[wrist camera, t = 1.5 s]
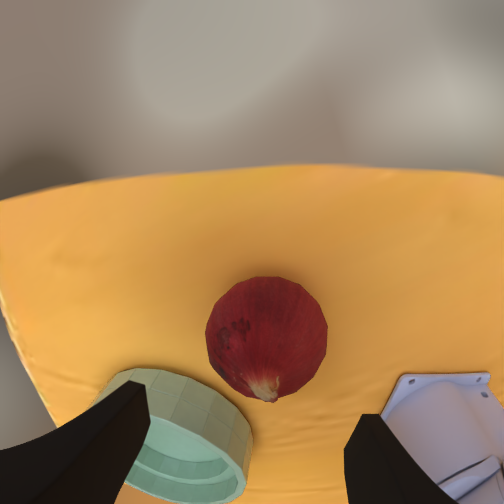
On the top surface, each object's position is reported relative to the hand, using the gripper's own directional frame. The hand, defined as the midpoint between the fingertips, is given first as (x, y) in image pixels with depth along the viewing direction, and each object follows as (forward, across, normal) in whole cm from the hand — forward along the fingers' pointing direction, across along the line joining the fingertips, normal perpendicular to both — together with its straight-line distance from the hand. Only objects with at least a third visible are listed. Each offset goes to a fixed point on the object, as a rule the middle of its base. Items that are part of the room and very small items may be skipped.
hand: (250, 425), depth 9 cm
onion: (+10, 0, 0) cm, 10 cm away
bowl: (+10, +6, +13) cm, 17 cm away
